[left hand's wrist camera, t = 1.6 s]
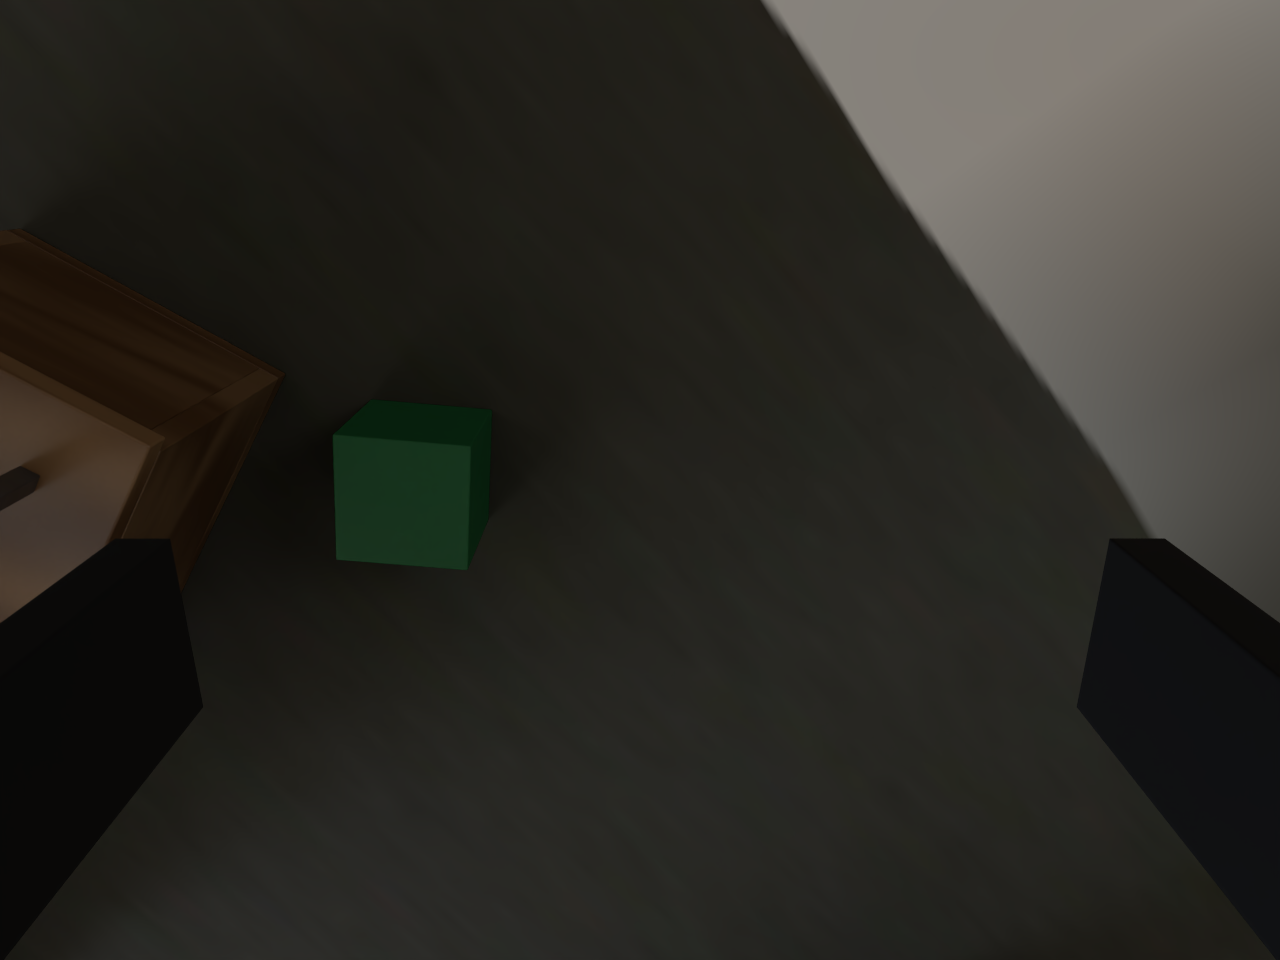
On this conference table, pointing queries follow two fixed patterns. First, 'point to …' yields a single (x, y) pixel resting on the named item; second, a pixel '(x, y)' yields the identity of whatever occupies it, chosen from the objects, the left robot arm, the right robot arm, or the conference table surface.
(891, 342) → the conference table surface
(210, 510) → the chest
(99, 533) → the lid
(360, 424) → the block
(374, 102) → the conference table surface
